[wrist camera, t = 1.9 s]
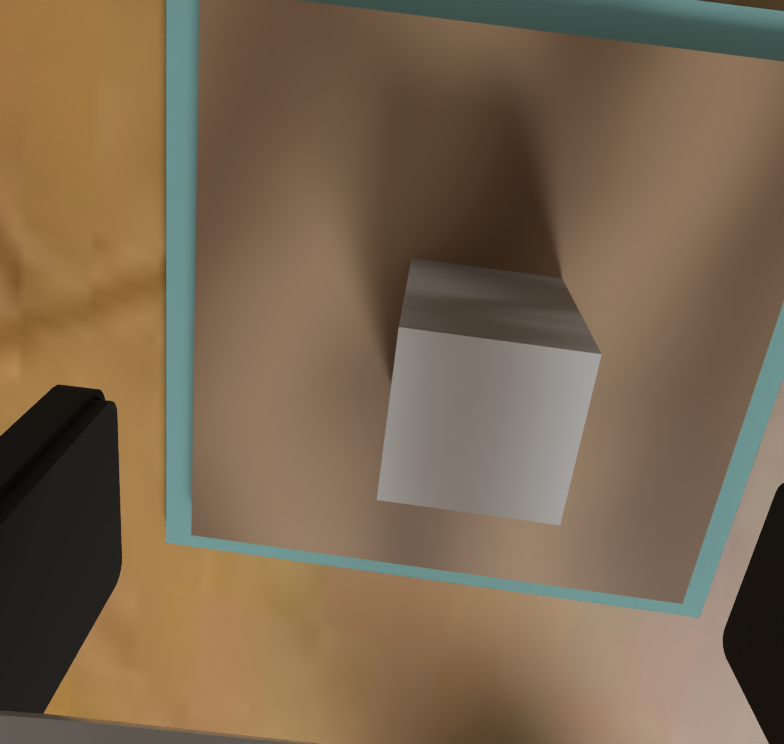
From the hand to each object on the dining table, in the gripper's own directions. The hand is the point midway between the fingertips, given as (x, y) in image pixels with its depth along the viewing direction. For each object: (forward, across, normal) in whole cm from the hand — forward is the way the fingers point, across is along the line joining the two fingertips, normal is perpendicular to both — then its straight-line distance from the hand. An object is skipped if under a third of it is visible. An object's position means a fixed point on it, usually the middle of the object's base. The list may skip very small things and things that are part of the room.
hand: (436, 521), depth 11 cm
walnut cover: (+9, -1, 0) cm, 9 cm away
